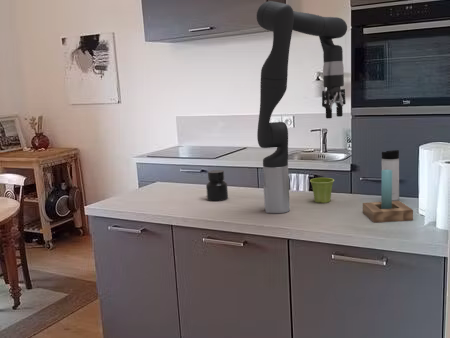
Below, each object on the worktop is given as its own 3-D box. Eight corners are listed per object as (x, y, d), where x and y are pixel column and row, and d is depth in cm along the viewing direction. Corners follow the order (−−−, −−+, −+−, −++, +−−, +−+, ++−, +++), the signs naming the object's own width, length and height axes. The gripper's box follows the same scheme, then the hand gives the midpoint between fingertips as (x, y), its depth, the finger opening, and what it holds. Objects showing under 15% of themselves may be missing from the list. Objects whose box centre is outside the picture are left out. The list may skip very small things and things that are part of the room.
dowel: (383, 217, 166) (384, 171, 163) (379, 215, 170) (379, 169, 167) (393, 217, 167) (393, 171, 164) (389, 214, 170) (389, 169, 167)
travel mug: (391, 204, 183) (391, 151, 180) (378, 200, 189) (377, 149, 186) (403, 201, 186) (403, 149, 183) (390, 198, 192) (390, 147, 189)
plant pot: (339, 202, 191) (339, 180, 190) (318, 205, 188) (318, 183, 186) (326, 197, 200) (325, 176, 198) (306, 200, 196) (305, 179, 195)
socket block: (373, 222, 162) (373, 212, 161) (362, 212, 175) (362, 202, 174) (413, 220, 162) (413, 209, 161) (399, 210, 174) (399, 200, 174)
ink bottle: (218, 195, 216) (216, 168, 213) (232, 197, 209) (231, 170, 207) (202, 200, 209) (200, 172, 207) (216, 202, 203) (215, 174, 201)
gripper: (333, 74, 176) (334, 119, 178) (351, 73, 186) (351, 115, 189) (315, 75, 181) (316, 119, 183) (333, 74, 191) (334, 115, 194)
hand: (334, 117), depth 186 cm, fingers open, 8 cm apart
